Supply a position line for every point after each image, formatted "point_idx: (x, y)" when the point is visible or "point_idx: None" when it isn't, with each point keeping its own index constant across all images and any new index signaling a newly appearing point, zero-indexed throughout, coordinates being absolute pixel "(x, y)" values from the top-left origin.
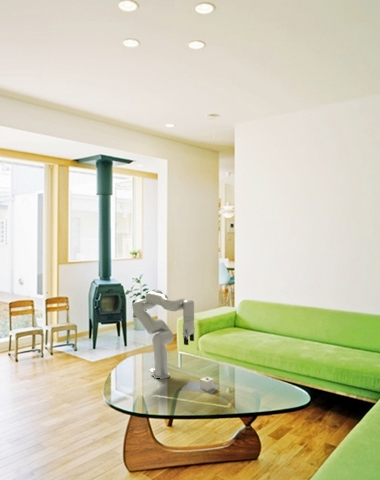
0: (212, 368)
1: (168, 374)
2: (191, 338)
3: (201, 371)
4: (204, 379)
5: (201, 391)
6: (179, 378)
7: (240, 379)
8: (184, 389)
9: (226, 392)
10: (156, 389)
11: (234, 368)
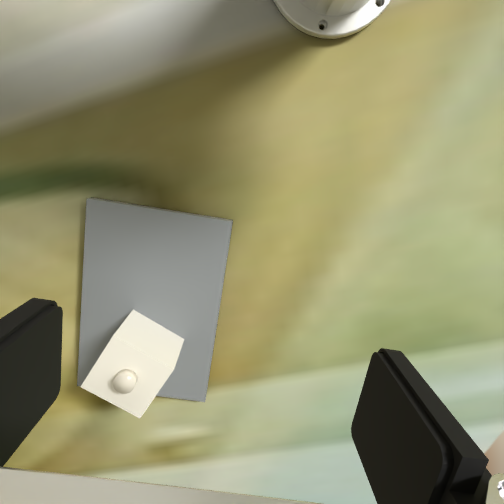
0: (499, 303)
1: (341, 21)
2: (383, 433)
3: (443, 246)
4: (116, 365)
5: (89, 326)
6: (302, 127)
7: (329, 469)
8: (89, 222)
9: (145, 433)
10: (75, 14)
11: (496, 422)
